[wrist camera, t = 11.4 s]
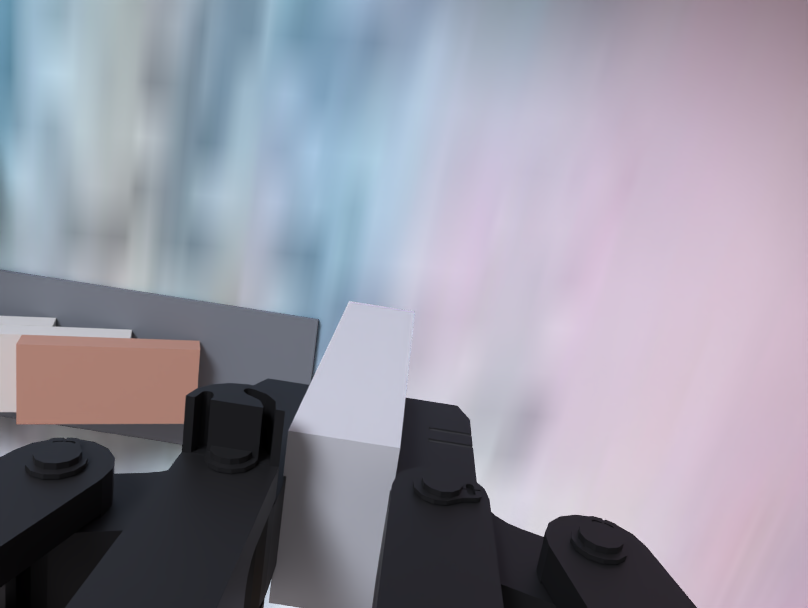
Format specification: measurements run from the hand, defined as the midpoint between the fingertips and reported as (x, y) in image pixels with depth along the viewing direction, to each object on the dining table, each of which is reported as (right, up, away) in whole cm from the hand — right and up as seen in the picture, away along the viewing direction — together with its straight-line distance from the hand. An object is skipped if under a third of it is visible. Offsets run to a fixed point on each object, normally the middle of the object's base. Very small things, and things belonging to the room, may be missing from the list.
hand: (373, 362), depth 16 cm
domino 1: (-12, -4, +28) cm, 31 cm away
